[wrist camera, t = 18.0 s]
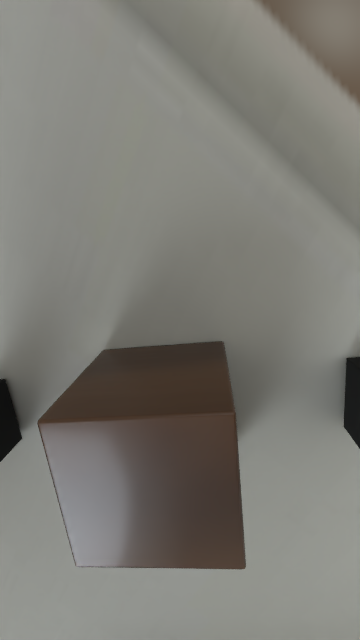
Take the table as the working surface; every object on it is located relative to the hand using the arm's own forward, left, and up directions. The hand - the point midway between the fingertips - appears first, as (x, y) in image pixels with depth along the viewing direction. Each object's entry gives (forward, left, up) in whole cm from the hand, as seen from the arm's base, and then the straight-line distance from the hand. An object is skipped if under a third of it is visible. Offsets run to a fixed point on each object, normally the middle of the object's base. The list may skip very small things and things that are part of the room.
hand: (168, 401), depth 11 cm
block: (0, 0, 0) cm, 0 cm away
